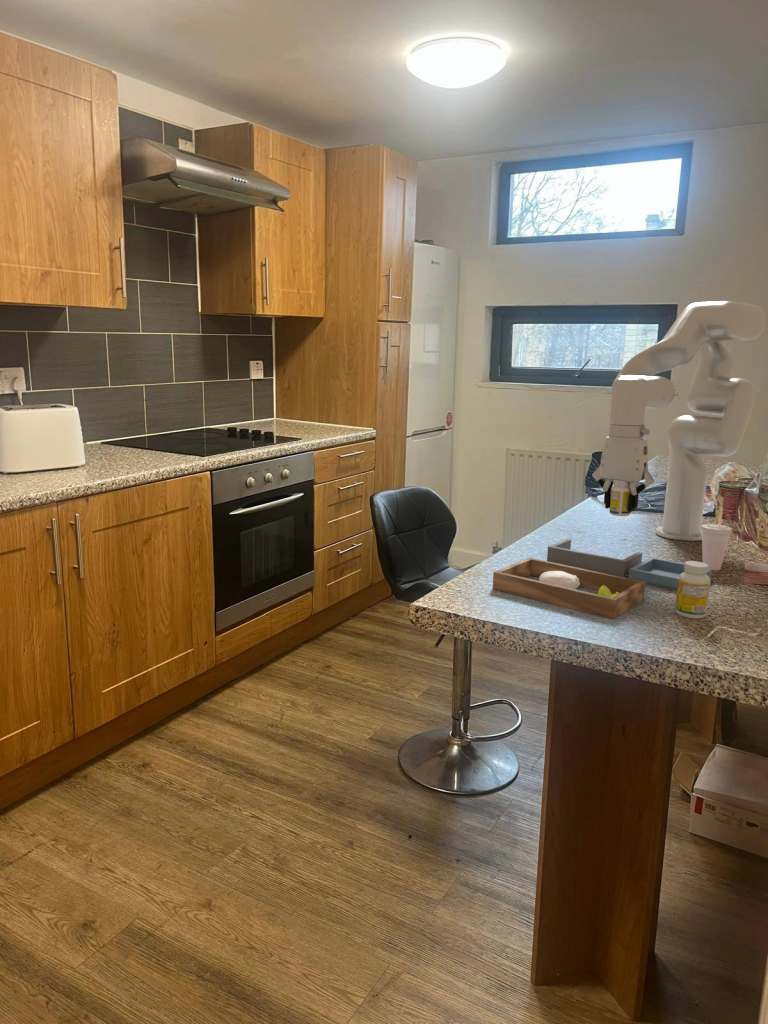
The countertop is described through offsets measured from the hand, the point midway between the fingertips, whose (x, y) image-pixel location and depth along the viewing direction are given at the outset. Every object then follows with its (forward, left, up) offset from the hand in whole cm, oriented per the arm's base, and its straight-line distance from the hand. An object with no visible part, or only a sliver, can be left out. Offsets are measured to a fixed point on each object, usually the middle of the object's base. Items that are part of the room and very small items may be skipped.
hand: (620, 508), depth 173 cm
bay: (+13, 0, -11) cm, 17 cm away
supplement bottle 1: (0, 0, -2) cm, 2 cm away
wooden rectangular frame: (+37, +5, -11) cm, 39 cm away
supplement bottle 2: (+32, +27, -11) cm, 43 cm away
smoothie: (-3, +21, -11) cm, 24 cm away
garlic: (+35, +2, -12) cm, 37 cm away
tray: (+13, +17, -11) cm, 24 cm away
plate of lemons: (+34, +13, -12) cm, 38 cm away
